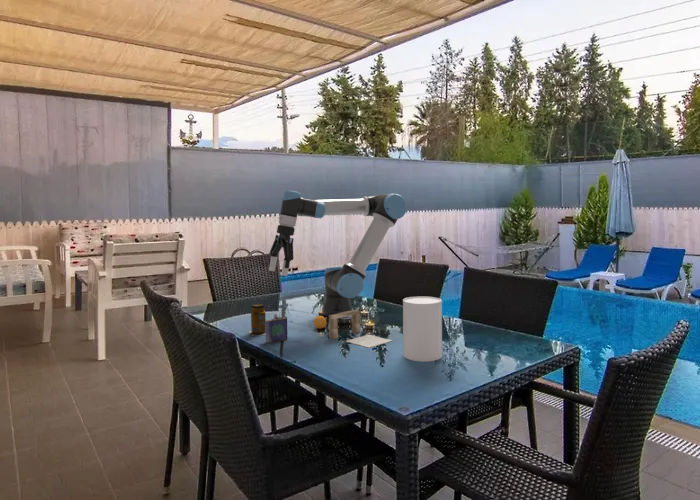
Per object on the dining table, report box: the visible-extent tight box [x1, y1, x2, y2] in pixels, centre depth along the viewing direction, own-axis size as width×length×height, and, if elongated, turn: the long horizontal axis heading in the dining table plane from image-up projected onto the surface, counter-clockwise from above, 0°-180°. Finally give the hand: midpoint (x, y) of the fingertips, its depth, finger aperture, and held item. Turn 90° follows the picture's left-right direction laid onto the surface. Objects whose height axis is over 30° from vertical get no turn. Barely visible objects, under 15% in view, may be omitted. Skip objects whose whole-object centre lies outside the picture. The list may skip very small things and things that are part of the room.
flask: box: [265, 313, 288, 344], centre depth 207 cm, size 9×3×11 cm, turn 121°
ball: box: [313, 315, 327, 330], centre depth 226 cm, size 6×6×6 cm
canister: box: [402, 295, 443, 362], centre depth 184 cm, size 14×14×20 cm
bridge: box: [328, 309, 361, 340], centre depth 215 cm, size 3×14×9 cm, turn 133°
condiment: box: [248, 303, 267, 337], centre depth 220 cm, size 7×8×12 cm
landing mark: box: [345, 334, 393, 349], centre depth 205 cm, size 13×13×1 cm
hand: (277, 273), depth 229 cm, fingers open, 13 cm apart
